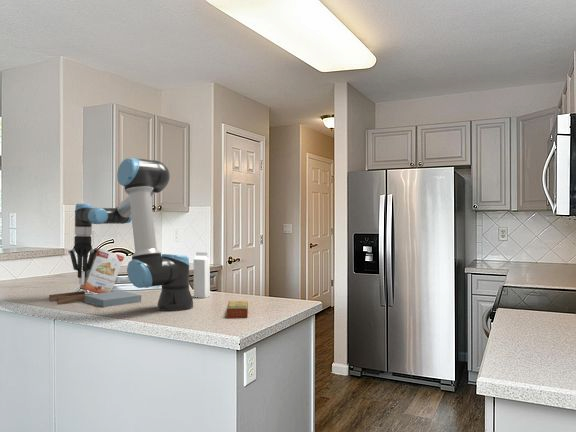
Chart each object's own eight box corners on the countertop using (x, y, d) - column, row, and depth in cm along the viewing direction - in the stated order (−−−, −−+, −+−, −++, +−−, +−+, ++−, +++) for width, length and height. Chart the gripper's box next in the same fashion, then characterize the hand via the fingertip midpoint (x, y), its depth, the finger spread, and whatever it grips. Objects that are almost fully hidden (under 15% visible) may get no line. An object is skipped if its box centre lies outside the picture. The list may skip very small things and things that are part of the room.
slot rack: (93, 299, 222) (93, 293, 222) (58, 304, 211) (58, 297, 211) (83, 297, 230) (83, 291, 230) (49, 301, 219) (49, 294, 219)
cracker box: (84, 289, 222) (99, 247, 228) (78, 288, 227) (94, 247, 232) (110, 296, 232) (124, 256, 237) (105, 295, 236) (119, 255, 241)
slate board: (141, 301, 217) (141, 295, 217) (103, 307, 204) (103, 300, 204) (120, 296, 231) (120, 290, 231) (84, 301, 218) (84, 295, 218)
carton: (248, 310, 198) (248, 300, 198) (247, 318, 182) (247, 307, 182) (228, 310, 197) (228, 300, 197) (226, 319, 181) (226, 308, 181)
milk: (198, 296, 233) (198, 251, 234) (210, 296, 232) (209, 252, 232) (193, 297, 227) (193, 252, 228) (204, 298, 226) (204, 252, 226)
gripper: (92, 235, 232) (91, 282, 232) (66, 235, 222) (64, 284, 222) (99, 235, 227) (98, 284, 227) (72, 236, 217) (71, 286, 217)
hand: (81, 284), depth 224 cm, fingers closed
